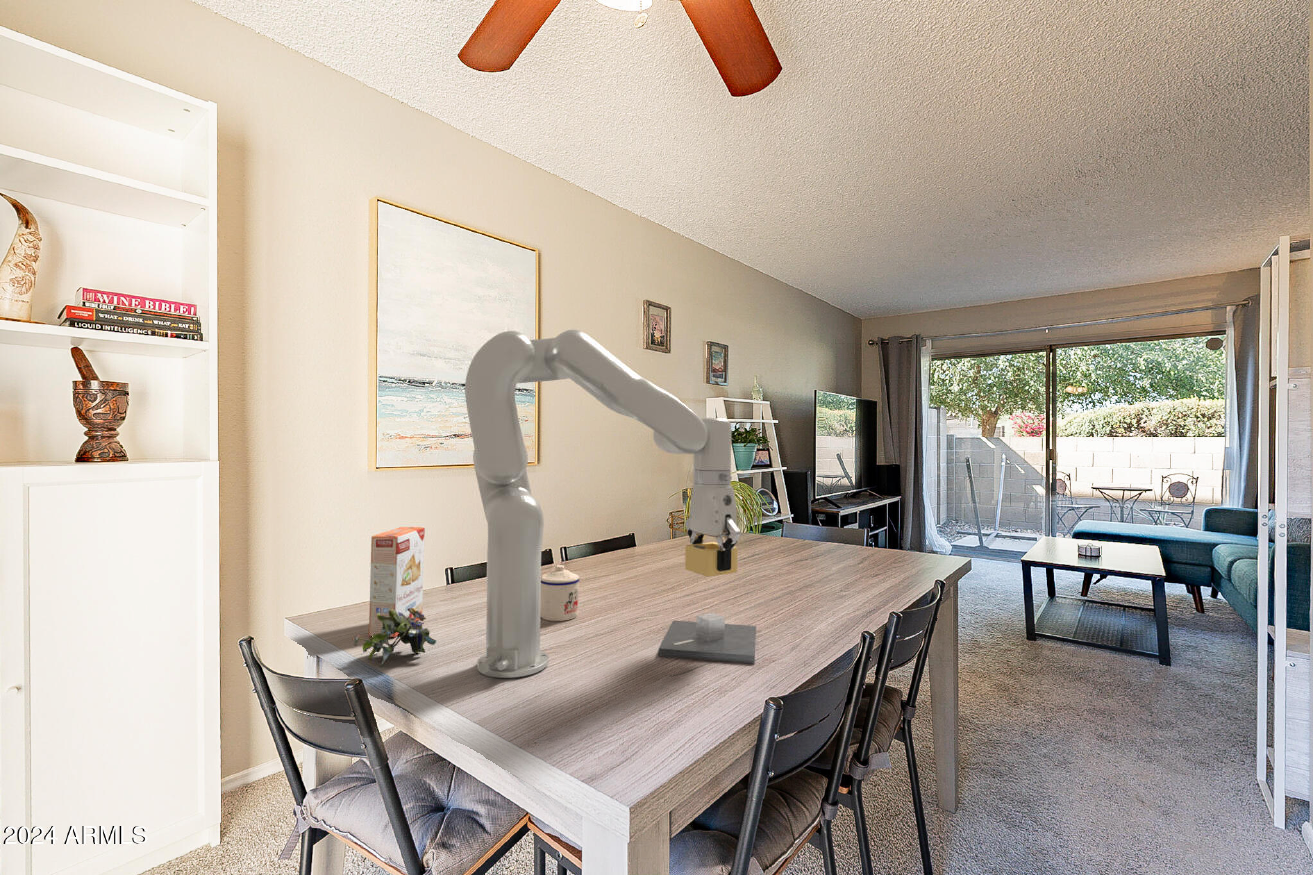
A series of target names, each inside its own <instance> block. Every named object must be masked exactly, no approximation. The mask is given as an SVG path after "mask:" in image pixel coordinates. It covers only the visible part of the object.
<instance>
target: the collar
mask: <svg viewBox="0 0 1313 875" xmlns="http://www.w3.org/2000/svg"><path fill="white" fill-rule="evenodd" d="M718 550H720V549H719V546H718V543H717V542H715V541H712V542H703V543H701V544H685V552H684V555H685V556H684V557H685V558H684V559H685V560H684V562H685V564H684V565H685V566H684V570H685V571H688V572H692V573H695V574H698V575H701V576H704V577H707V578H709V577H715V576H723V575H728V574H730V575H731V574H735V573H736V574H737V573H738V547H736V546H734V549H733V550H731V569H730V570H726V571H718V570H717V551H718Z"/></svg>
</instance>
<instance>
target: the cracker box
mask: <svg viewBox="0 0 1313 875" xmlns="http://www.w3.org/2000/svg"><path fill="white" fill-rule="evenodd" d="M425 529H426V528H425V527H423V526H422V527H420V526H400V527H398V528H394V529H390V530H388V531H384V532H381V533H377V534H374V535H372V536H371V541H370V542H371V543H370V576H369V577H370V579H369V580H370V581H369V585H370V586H369V611H368V612H369V613H368V614H369V617H368V637H369V636H373V635H375V634H378V633H379V634H381V630H382V627H383V623H382V621H380V620H378V617H377V614H378V613H379V614H380V615H381V616H385V617H390V616H389V611H390V610H394V611H396V612H397V613H398V612H400V613H402V614H403V615H405V616H406V618H407V617H409V618H414V616H413V615H412V614H411V613H410V612H409V611H408V608H414V609H415V610H416V611H420V613H421V614H423V601H424V600H423V598H424V561H425V532H426V531H425ZM417 620H419V618H416V619H415V621H417ZM419 621H420V620H419ZM384 634H385V633H384ZM384 634H382V635H384ZM398 634H399V633H398V632H396V633H394V634H391V635H390V636H389V637H395V636H396V637H398ZM396 637H395V638H396Z"/></svg>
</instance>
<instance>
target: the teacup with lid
mask: <svg viewBox="0 0 1313 875" xmlns="http://www.w3.org/2000/svg"><path fill="white" fill-rule="evenodd" d="M579 582H580V576H579V575H578V574H576V573H575V572H571V571H569V570H568V569H565V566H564V565H563V564H562V565H561V564H560V565H559V564H557V565H555V569H553V570H550V571H549V572H548V573H546V574H545V573H544V574H542V575H541V605H540V619H543V620H545V621H549V620H552V621H551V622H565V620H566V621H570V619H571V620H574V619H575V618H576V617H578V616H579Z"/></svg>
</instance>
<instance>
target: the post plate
mask: <svg viewBox="0 0 1313 875" xmlns="http://www.w3.org/2000/svg"><path fill="white" fill-rule="evenodd" d="M725 621H726V620H725V616H721V615H718V614H716V613H713V612H709V613H704V614H699V615H696V621H688V620H687V621H686V620H685V621H684V620H672V622H671V623H670V626H669V628H668V630H667V631H666V633H665V635H664V637H663V639H662V641H661V643H660V646H659V647H658V657H662V658H664V657H665V658H676V659H686V660H687V659H689V660H700V661H701V660H702V661H703V660H704V661H715V662H726V663H729V662H730V663H740V664H752V665H754V664H755V663H756V662H755V661H756V660H755V659H756V644H757V643H756V642H757V625H746V624H733V623H732V624H731V623H725Z"/></svg>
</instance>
